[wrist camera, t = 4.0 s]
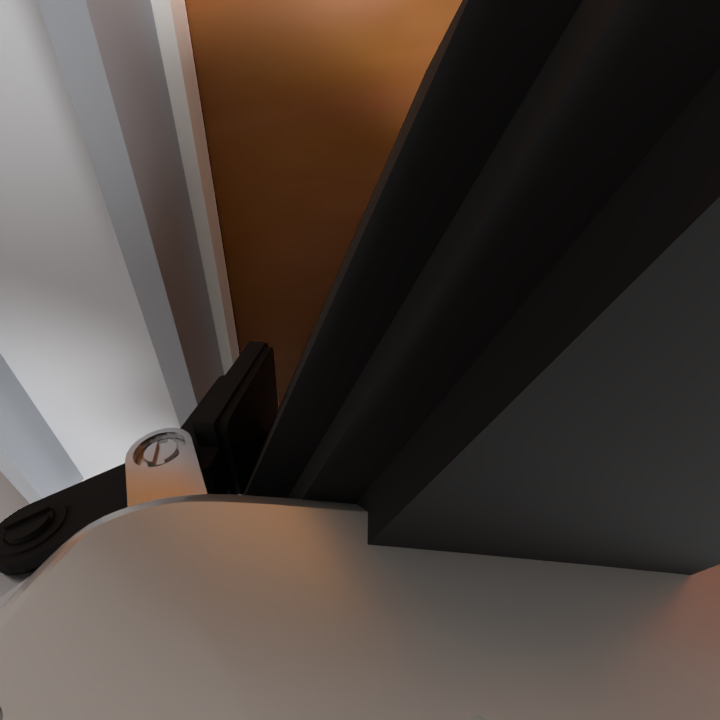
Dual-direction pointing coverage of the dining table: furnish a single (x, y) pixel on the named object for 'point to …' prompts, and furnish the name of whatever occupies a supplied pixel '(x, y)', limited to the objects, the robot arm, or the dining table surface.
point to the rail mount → (103, 237)
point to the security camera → (532, 300)
